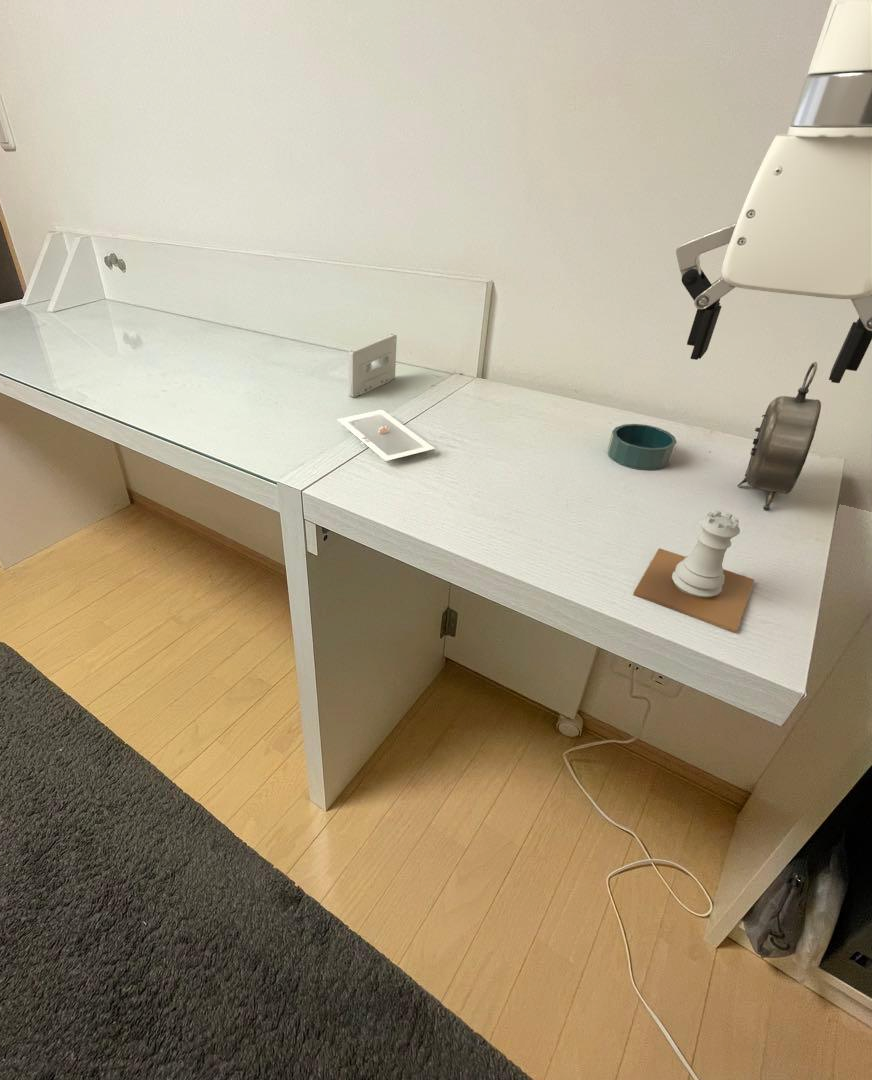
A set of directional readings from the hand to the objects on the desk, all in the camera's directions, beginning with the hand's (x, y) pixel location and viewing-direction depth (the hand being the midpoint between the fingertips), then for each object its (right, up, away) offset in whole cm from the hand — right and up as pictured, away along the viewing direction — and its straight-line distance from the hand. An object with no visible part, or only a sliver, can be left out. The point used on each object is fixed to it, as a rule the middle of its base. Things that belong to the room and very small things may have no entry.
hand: (763, 365), depth 50 cm
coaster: (+1, -19, +11) cm, 22 cm away
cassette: (-28, +12, +56) cm, 64 cm away
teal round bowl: (+7, -3, +34) cm, 34 cm away
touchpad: (-28, 0, +39) cm, 48 cm away
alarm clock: (+17, -8, +25) cm, 32 cm away
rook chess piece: (+1, -19, +11) cm, 22 cm away
